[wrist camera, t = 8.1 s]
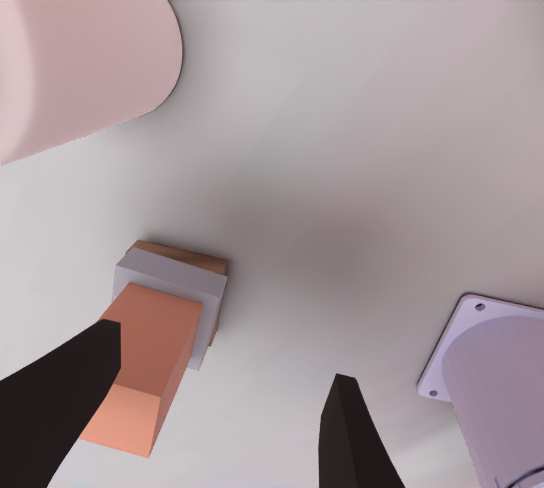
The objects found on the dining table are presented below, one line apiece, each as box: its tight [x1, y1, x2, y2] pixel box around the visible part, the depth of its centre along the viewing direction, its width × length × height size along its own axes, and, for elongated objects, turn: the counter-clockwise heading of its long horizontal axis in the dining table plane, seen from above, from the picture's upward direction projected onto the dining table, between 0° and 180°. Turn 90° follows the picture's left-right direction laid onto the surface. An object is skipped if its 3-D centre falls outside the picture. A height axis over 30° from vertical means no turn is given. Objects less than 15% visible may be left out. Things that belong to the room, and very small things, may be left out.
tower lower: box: [126, 240, 227, 347], centre depth 24 cm, size 6×6×2 cm
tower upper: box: [112, 247, 228, 371], centre depth 22 cm, size 6×6×2 cm
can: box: [0, 0, 182, 166], centre depth 13 cm, size 6×6×12 cm
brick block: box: [79, 282, 203, 458], centre depth 18 cm, size 4×4×6 cm
